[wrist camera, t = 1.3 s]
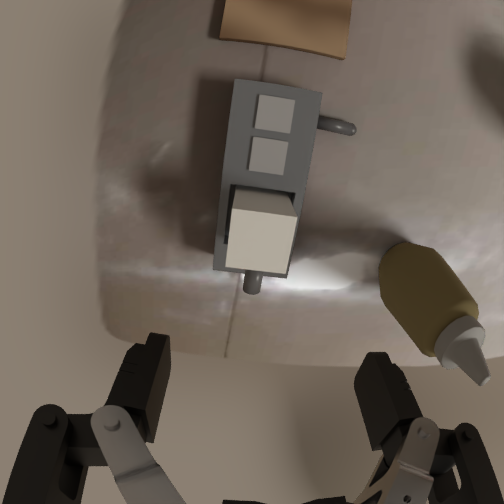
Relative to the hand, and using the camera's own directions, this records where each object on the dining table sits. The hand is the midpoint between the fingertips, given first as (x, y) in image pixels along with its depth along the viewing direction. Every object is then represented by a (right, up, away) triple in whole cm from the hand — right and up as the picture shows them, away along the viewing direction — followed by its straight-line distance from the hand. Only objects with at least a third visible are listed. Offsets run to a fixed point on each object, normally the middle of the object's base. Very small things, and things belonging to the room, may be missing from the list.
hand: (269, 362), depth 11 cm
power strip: (+2, +11, +16) cm, 20 cm away
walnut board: (+3, +27, +8) cm, 29 cm away
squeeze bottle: (+16, +3, +20) cm, 26 cm away
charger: (0, +7, +17) cm, 18 cm away
